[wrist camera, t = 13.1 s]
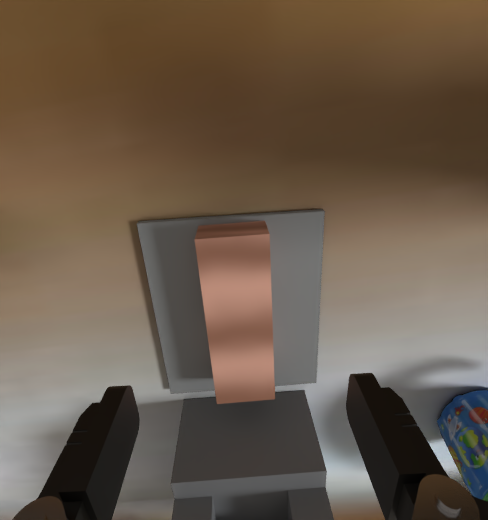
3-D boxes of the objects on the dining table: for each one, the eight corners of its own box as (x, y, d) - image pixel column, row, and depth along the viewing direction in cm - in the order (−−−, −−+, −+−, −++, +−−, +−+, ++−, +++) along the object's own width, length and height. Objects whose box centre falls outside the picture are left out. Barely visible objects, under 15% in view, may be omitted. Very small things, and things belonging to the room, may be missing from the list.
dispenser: (184, 399, 32) (158, 563, 20) (304, 390, 32) (347, 547, 20) (201, 497, 38) (189, 664, 27) (301, 489, 38) (332, 651, 27)
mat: (138, 221, 24) (136, 223, 24) (322, 209, 24) (324, 211, 24) (171, 388, 31) (170, 393, 31) (314, 378, 31) (316, 382, 31)
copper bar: (198, 225, 24) (194, 239, 21) (264, 220, 24) (269, 233, 21) (217, 377, 30) (216, 404, 27) (270, 373, 30) (275, 399, 27)
